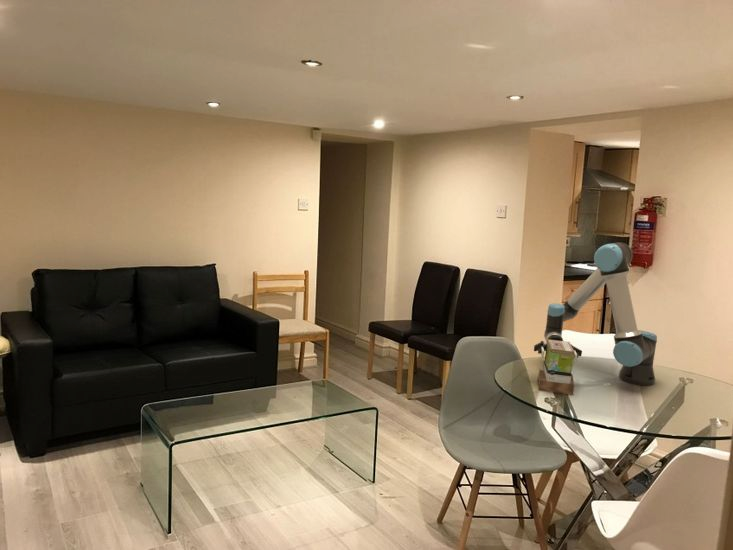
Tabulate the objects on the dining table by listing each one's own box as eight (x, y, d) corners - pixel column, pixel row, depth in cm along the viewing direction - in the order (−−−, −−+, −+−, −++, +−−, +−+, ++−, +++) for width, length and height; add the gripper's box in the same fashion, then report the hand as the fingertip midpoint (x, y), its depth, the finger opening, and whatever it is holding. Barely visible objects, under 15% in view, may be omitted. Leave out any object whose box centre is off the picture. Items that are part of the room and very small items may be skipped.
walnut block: (570, 384, 263) (572, 373, 262) (572, 396, 250) (574, 384, 249) (538, 380, 267) (539, 369, 266) (538, 391, 254) (539, 380, 253)
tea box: (570, 384, 249) (575, 351, 246) (546, 381, 251) (550, 348, 248) (566, 372, 264) (570, 340, 261) (542, 369, 266) (546, 338, 263)
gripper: (582, 353, 273) (588, 368, 252) (526, 346, 278) (528, 361, 257) (584, 337, 271) (591, 351, 251) (528, 331, 276) (530, 344, 256)
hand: (559, 356), depth 254 cm, fingers open, 13 cm apart
